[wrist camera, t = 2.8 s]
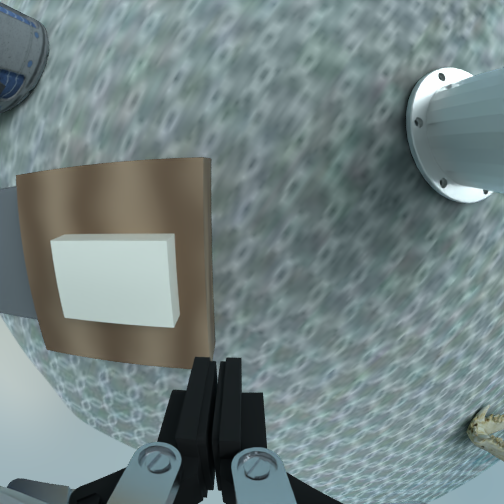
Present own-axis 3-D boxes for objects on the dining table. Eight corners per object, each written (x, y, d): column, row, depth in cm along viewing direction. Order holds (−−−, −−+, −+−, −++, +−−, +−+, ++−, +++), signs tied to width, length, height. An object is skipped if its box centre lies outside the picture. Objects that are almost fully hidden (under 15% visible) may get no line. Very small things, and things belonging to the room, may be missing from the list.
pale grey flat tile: (174, 233, 20) (166, 240, 18) (180, 314, 22) (173, 327, 20) (64, 234, 20) (50, 240, 18) (76, 306, 22) (64, 317, 20)
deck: (211, 158, 23) (203, 157, 19) (215, 343, 27) (210, 370, 23) (42, 172, 23) (16, 175, 19) (65, 330, 27) (46, 349, 23)
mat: (40, 183, 23) (38, 183, 23) (60, 321, 27) (59, 322, 27) (-20, 192, 23) (-22, 193, 23) (0, 311, 27) (-1, 312, 27)
